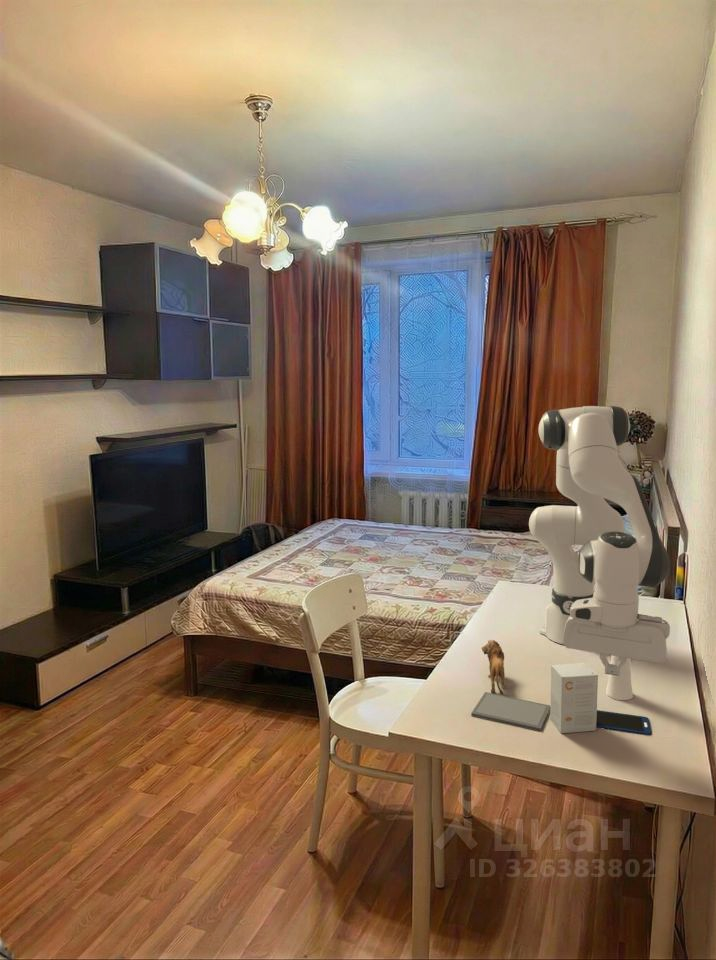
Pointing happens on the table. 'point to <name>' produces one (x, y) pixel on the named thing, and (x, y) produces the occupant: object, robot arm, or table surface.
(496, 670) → the lion figurine
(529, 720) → the grey tablet
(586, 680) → the small box
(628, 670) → the cosmetic bottle
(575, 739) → the table surface
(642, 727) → the cell phone
